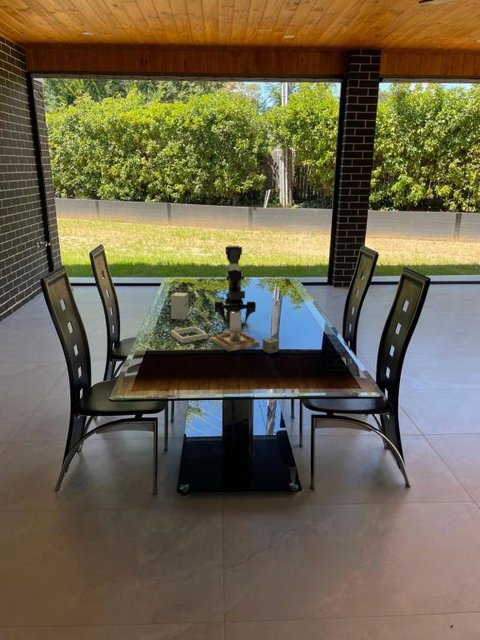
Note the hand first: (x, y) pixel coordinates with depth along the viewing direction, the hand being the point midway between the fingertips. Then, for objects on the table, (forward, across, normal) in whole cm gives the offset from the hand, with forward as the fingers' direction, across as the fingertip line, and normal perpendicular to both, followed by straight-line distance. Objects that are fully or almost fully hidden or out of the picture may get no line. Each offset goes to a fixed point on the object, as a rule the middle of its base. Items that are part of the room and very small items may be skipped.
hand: (235, 323), depth 229 cm
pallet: (+7, 0, +5) cm, 9 cm away
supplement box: (-20, -28, +34) cm, 48 cm away
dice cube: (+14, +15, -2) cm, 21 cm away
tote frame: (+2, -21, +11) cm, 24 cm away
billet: (+6, 0, +4) cm, 7 cm away
